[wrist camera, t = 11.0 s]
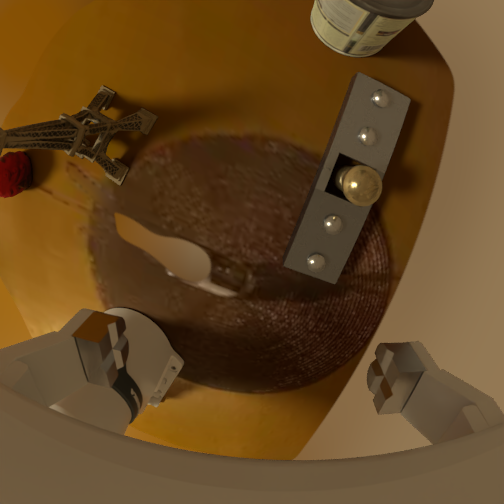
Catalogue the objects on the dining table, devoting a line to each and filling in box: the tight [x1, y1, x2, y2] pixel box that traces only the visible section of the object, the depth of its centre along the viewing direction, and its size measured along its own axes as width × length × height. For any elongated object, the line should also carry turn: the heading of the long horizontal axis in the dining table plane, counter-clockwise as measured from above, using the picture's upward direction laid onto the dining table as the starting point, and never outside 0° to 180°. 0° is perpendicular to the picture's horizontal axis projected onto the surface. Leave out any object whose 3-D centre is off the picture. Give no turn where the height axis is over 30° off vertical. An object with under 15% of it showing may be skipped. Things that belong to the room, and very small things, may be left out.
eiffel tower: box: [0, 86, 158, 186], centre depth 22 cm, size 11×11×25 cm
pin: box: [332, 165, 382, 206], centre depth 30 cm, size 4×4×8 cm
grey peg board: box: [283, 72, 411, 284], centre depth 32 cm, size 25×7×4 cm, turn 161°
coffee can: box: [311, 0, 434, 57], centre depth 20 cm, size 10×10×14 cm
